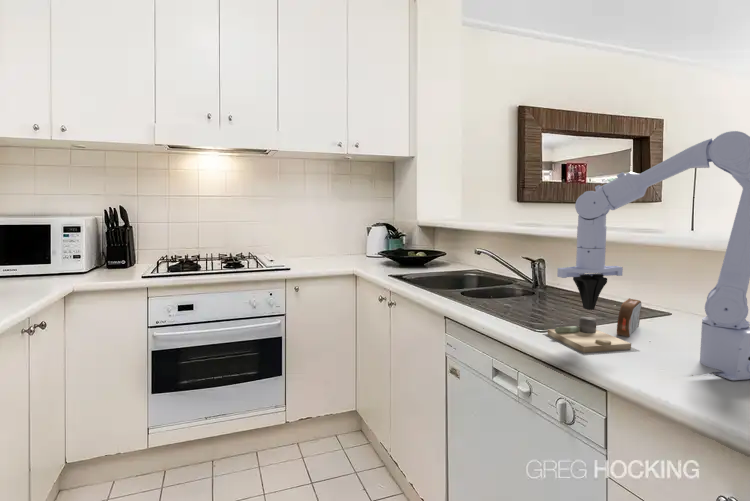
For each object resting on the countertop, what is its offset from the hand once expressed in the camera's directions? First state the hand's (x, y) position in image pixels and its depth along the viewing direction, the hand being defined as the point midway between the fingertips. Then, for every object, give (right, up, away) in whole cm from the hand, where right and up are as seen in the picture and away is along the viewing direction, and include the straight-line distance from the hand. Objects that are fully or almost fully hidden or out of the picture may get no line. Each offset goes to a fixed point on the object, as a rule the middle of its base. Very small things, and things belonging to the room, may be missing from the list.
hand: (588, 308), depth 102 cm
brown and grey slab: (+15, -8, +11) cm, 20 cm away
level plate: (0, -8, +2) cm, 8 cm away
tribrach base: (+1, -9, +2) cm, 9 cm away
